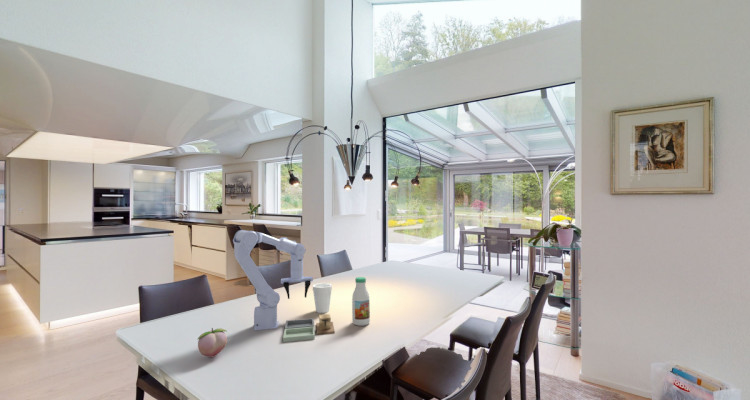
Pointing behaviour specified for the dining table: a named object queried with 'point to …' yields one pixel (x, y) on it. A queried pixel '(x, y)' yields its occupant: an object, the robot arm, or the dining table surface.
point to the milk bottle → (360, 303)
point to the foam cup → (322, 297)
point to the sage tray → (298, 334)
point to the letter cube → (325, 321)
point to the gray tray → (299, 323)
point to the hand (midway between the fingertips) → (297, 297)
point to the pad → (325, 330)
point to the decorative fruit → (212, 342)
